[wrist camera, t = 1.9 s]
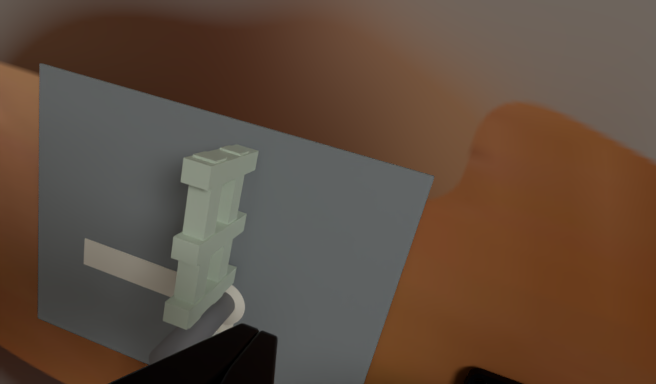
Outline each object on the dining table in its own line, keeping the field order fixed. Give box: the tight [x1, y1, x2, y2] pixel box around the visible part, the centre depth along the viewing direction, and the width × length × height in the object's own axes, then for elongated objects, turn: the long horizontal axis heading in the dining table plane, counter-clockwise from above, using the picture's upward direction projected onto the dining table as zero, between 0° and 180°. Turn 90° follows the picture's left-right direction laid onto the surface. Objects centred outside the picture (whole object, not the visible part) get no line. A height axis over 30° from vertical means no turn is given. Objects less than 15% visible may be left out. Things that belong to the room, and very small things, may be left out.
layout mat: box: [38, 64, 434, 384], centre depth 21 cm, size 22×17×1 cm
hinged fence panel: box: [163, 144, 259, 330], centre depth 17 cm, size 8×1×4 cm, turn 166°
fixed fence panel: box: [149, 292, 235, 364], centre depth 20 cm, size 7×2×5 cm, turn 166°
